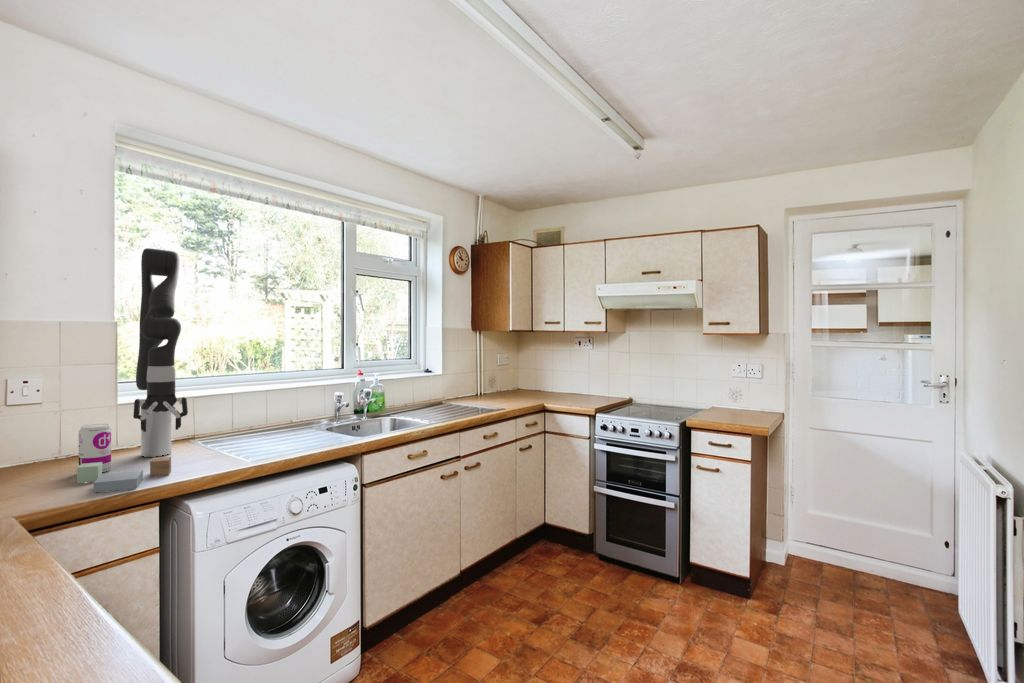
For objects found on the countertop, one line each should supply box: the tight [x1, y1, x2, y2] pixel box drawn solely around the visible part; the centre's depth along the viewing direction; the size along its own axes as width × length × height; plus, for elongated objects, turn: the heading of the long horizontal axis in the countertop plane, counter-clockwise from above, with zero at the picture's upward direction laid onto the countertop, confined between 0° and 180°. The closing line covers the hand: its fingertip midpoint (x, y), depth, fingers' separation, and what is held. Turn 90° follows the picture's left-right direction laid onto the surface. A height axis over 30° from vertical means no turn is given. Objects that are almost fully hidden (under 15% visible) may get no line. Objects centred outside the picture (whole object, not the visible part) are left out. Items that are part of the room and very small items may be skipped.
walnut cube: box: [149, 455, 172, 478], centre depth 165 cm, size 5×5×5 cm
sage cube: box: [76, 462, 103, 484], centre depth 157 cm, size 5×5×5 cm
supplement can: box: [78, 423, 112, 473], centre depth 166 cm, size 8×8×15 cm
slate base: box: [93, 469, 144, 494], centre depth 152 cm, size 10×10×3 cm
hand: (161, 430), depth 165 cm, fingers open, 8 cm apart
